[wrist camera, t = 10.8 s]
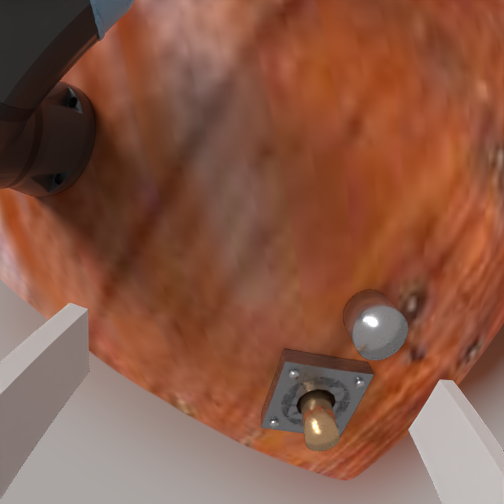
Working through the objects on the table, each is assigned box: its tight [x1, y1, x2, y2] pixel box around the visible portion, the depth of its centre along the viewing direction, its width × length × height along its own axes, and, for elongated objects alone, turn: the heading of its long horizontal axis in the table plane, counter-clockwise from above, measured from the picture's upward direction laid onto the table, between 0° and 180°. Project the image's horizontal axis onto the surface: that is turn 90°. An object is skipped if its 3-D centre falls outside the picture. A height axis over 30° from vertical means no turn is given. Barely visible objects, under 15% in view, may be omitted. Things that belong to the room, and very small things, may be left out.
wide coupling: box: [343, 290, 408, 360], centre depth 35 cm, size 6×6×6 cm
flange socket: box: [261, 349, 374, 436], centre depth 39 cm, size 12×12×4 cm
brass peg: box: [299, 389, 340, 451], centre depth 36 cm, size 4×4×10 cm
